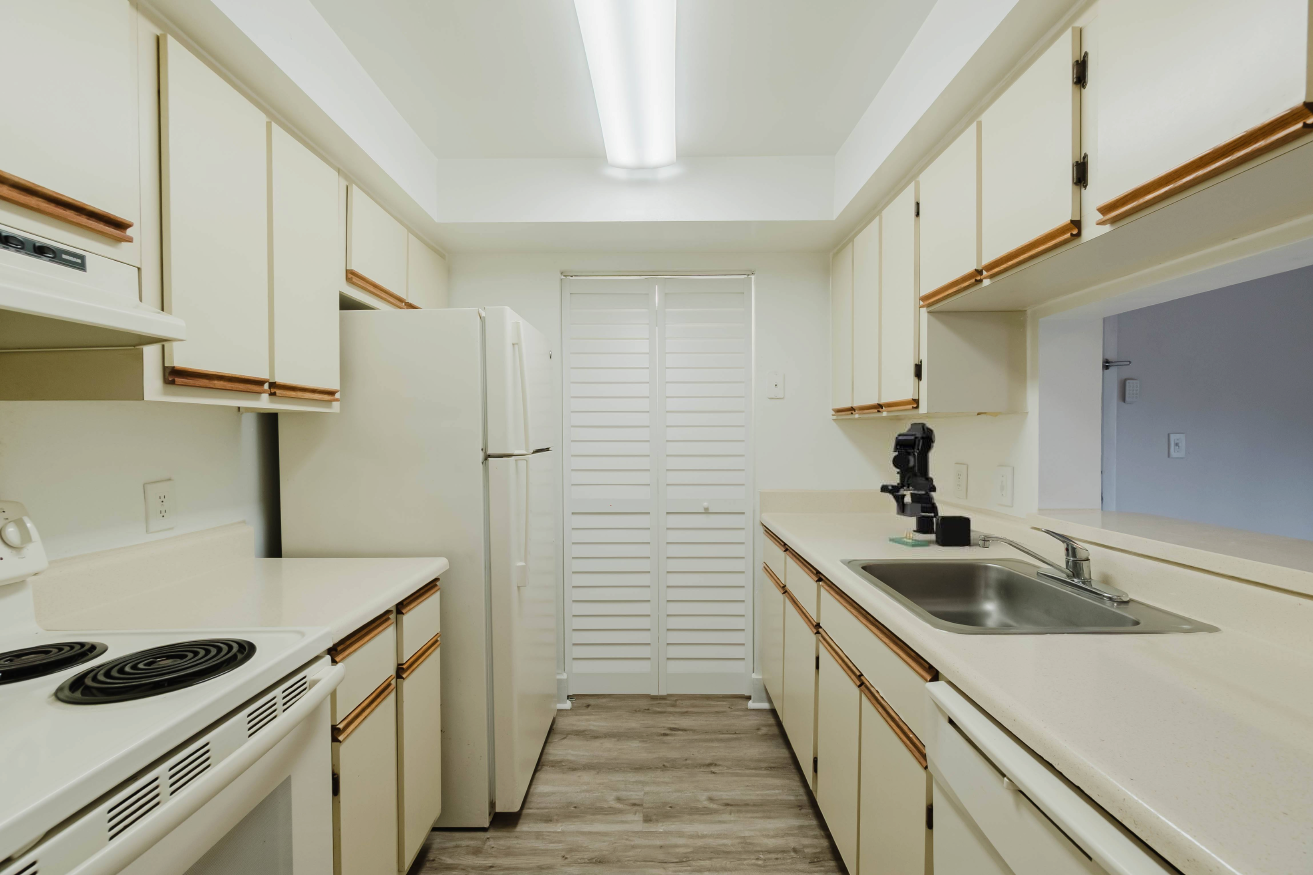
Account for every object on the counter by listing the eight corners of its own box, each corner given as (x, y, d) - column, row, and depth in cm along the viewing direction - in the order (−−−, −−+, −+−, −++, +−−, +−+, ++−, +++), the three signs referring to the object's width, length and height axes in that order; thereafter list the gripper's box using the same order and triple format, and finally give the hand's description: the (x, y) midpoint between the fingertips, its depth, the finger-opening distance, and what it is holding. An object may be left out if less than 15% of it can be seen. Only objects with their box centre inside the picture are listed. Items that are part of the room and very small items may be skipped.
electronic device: (971, 546, 183) (970, 517, 183) (941, 546, 183) (941, 517, 183) (964, 544, 187) (963, 515, 187) (935, 544, 188) (935, 515, 188)
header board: (889, 540, 195) (889, 531, 195) (906, 539, 196) (906, 530, 196) (911, 546, 183) (911, 536, 183) (929, 545, 184) (929, 535, 185)
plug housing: (896, 514, 193) (896, 502, 193) (907, 514, 194) (907, 501, 194) (909, 517, 186) (909, 504, 186) (920, 516, 187) (920, 503, 187)
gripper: (899, 470, 180) (900, 516, 180) (947, 469, 184) (948, 514, 184) (879, 468, 191) (879, 512, 191) (924, 467, 195) (925, 510, 195)
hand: (908, 512), depth 190 cm, fingers closed on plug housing, 4 cm apart
